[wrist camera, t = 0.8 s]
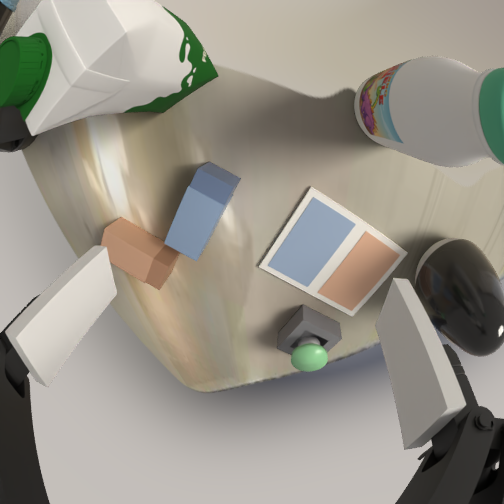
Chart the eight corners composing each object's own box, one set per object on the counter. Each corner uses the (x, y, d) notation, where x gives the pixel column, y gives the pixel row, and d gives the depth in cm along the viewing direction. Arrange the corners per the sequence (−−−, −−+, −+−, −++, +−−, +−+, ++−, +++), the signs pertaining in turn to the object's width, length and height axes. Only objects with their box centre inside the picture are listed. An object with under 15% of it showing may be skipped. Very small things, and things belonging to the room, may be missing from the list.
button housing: (278, 333, 37) (276, 348, 35) (303, 304, 35) (303, 319, 32) (313, 348, 38) (313, 364, 35) (339, 323, 35) (341, 338, 33)
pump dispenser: (471, 279, 30) (524, 354, 16) (410, 306, 33) (447, 396, 19) (467, 214, 26) (543, 281, 13) (398, 243, 29) (453, 333, 16)
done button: (285, 347, 35) (284, 363, 32) (305, 326, 32) (305, 343, 30) (312, 359, 35) (313, 375, 33) (333, 340, 33) (334, 356, 31)
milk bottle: (431, 104, 21) (581, 122, 4) (400, 160, 25) (534, 244, 7) (372, 60, 21) (494, -4, 3) (339, 120, 24) (439, 131, 7)
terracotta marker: (114, 241, 34) (98, 254, 31) (121, 216, 33) (104, 228, 29) (170, 273, 35) (158, 291, 32) (180, 250, 34) (168, 266, 30)
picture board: (259, 265, 33) (258, 267, 32) (311, 186, 28) (311, 187, 27) (351, 314, 34) (352, 317, 34) (406, 251, 29) (408, 253, 29)
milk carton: (126, 66, 24) (-26, 59, 6) (192, 18, 21) (66, -62, 3) (161, 124, 27) (4, 161, 9) (232, 77, 24) (118, 18, 6)
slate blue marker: (206, 244, 33) (196, 261, 29) (177, 228, 32) (163, 243, 29) (241, 178, 29) (234, 188, 25) (208, 161, 28) (196, 167, 25)
